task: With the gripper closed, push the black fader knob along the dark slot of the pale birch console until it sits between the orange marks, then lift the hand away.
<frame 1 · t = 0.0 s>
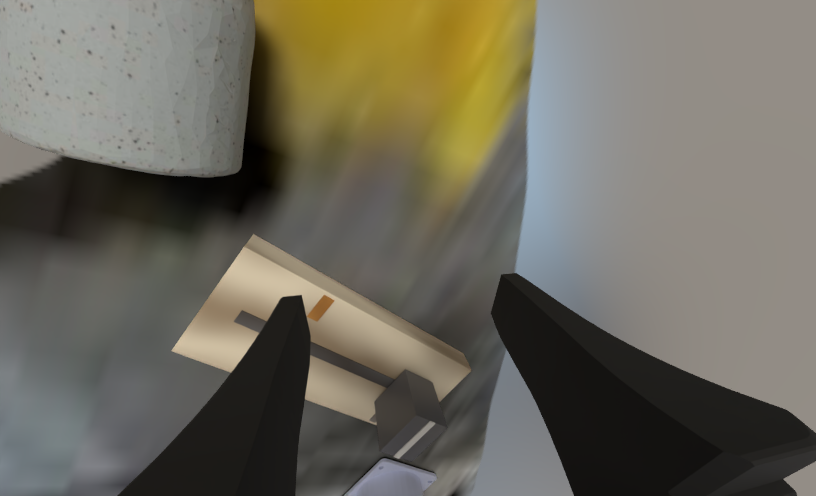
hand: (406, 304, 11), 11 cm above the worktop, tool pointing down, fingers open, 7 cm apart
ceramic mug: (159, 63, 15), on the worktop
fader console: (342, 343, 24), on the worktop
fader knob: (408, 414, 23), point 4 cm above the worktop, slide at 0.0 cm
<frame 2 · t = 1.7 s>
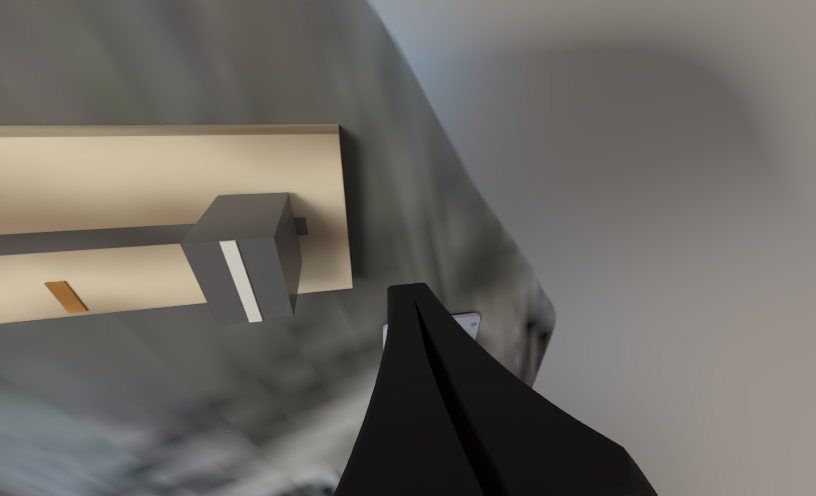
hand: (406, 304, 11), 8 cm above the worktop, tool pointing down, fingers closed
fader console: (149, 216, 16), on the worktop
fader knob: (254, 255, 13), point 4 cm above the worktop, slide at 0.0 cm
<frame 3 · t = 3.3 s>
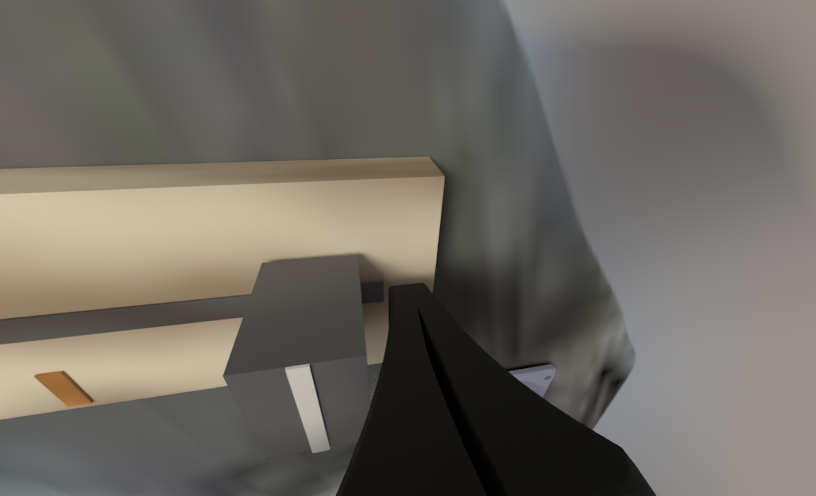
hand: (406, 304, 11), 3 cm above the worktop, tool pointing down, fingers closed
fader console: (174, 278, 12), on the worktop
fader knob: (315, 349, 9), point 4 cm above the worktop, slide at 0.4 cm, touching gripper
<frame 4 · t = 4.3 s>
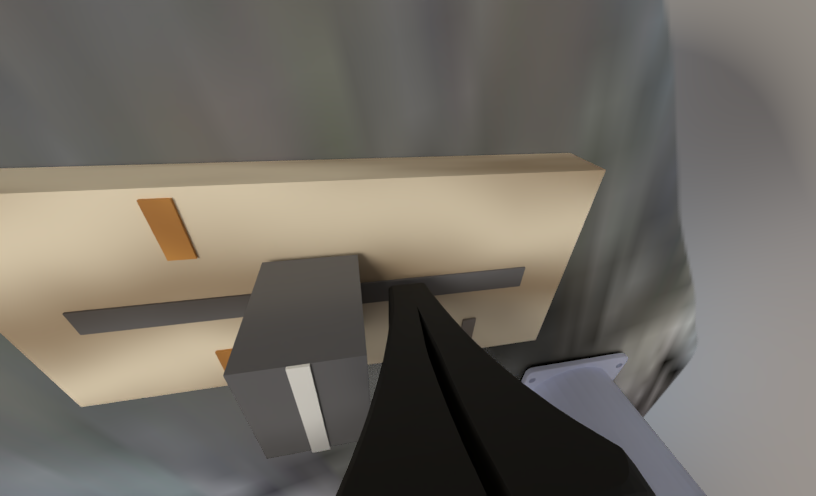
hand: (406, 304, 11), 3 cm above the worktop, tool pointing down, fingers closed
fader console: (327, 264, 13), on the worktop
fader knob: (316, 349, 9), point 4 cm above the worktop, slide at 6.2 cm, touching gripper
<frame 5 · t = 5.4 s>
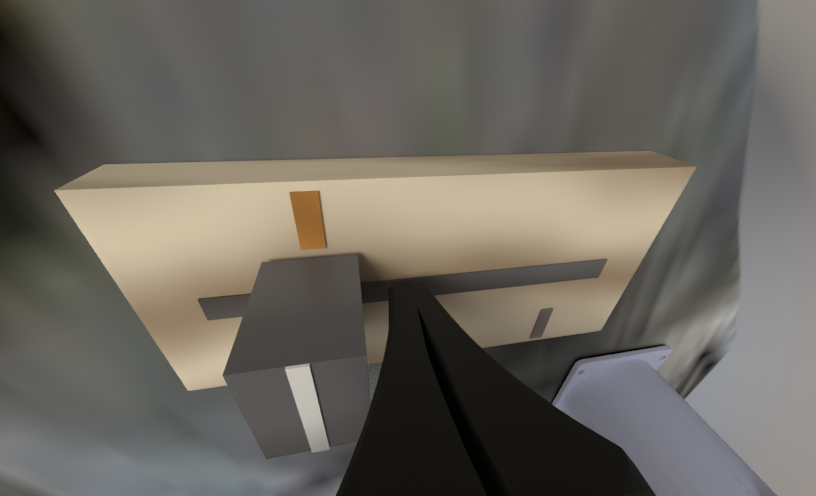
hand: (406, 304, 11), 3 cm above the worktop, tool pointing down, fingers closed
fader console: (415, 256, 13), on the worktop
fader knob: (315, 349, 9), point 4 cm above the worktop, slide at 10.1 cm, touching gripper
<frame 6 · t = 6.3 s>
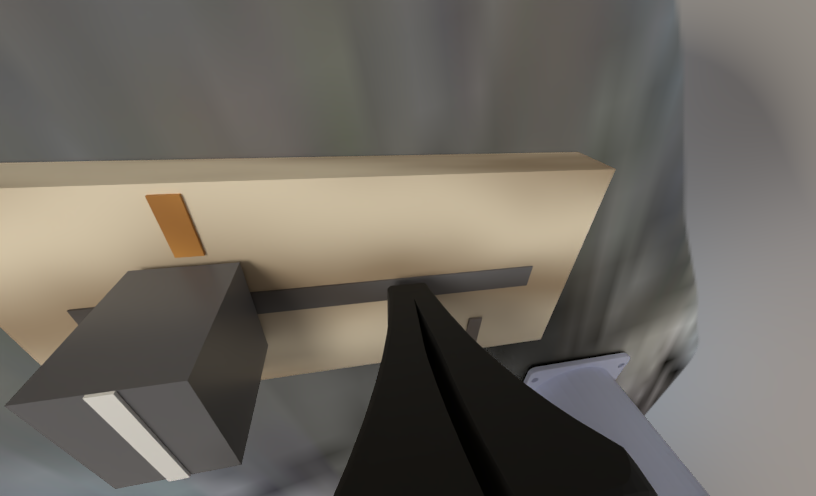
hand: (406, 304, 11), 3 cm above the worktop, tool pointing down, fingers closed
fader console: (333, 262, 13), on the worktop
fader knob: (182, 366, 8), point 4 cm above the worktop, slide at 10.1 cm
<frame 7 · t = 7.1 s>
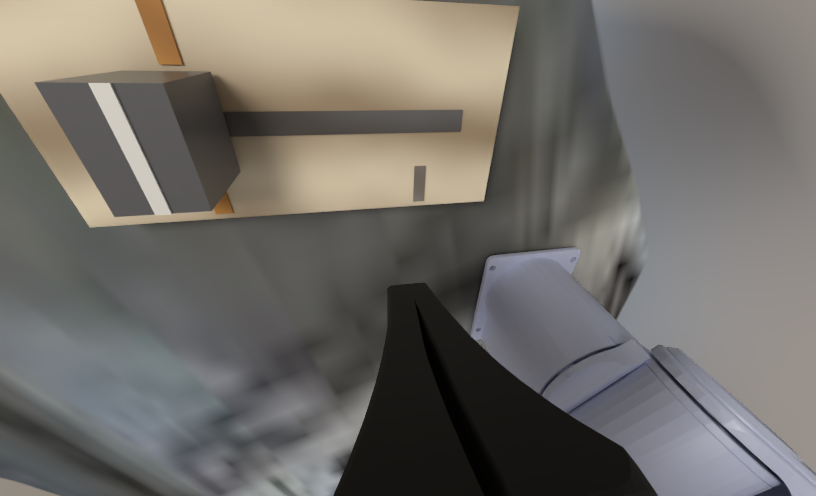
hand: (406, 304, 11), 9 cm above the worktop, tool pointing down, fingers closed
fader console: (296, 114, 15), on the worktop
fader knob: (165, 139, 11), point 4 cm above the worktop, slide at 10.1 cm
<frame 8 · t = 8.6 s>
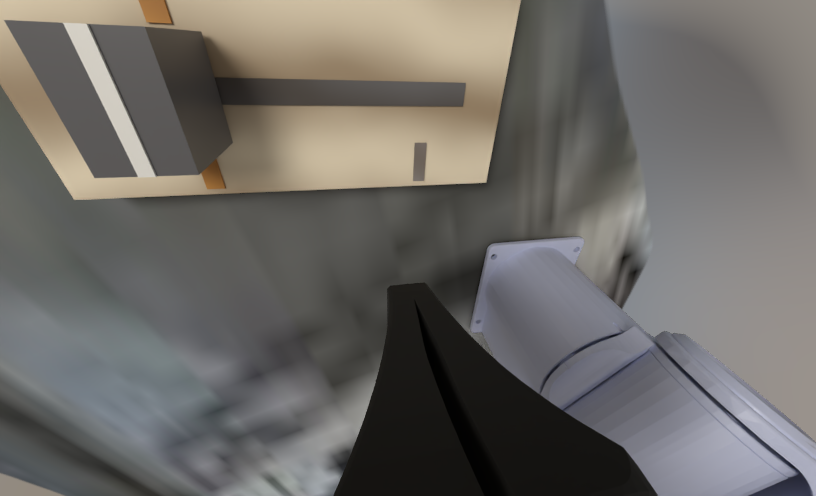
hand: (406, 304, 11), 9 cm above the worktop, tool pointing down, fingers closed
fader console: (292, 86, 14), on the worktop
fader knob: (151, 99, 10), point 4 cm above the worktop, slide at 10.1 cm
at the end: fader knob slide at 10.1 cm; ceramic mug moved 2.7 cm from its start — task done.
